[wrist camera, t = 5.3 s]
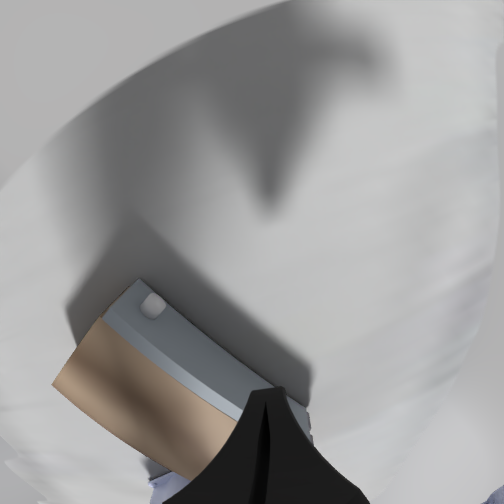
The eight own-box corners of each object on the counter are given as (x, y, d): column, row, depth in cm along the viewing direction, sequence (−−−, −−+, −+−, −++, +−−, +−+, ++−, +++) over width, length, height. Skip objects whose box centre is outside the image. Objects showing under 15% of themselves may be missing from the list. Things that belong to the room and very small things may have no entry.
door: (302, 418, 22) (307, 460, 18) (131, 287, 20) (101, 318, 15) (321, 405, 22) (329, 447, 17) (147, 267, 19) (118, 295, 15)
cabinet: (228, 459, 25) (223, 496, 20) (77, 353, 22) (51, 384, 17) (300, 418, 23) (304, 460, 18) (128, 286, 20) (99, 315, 15)
